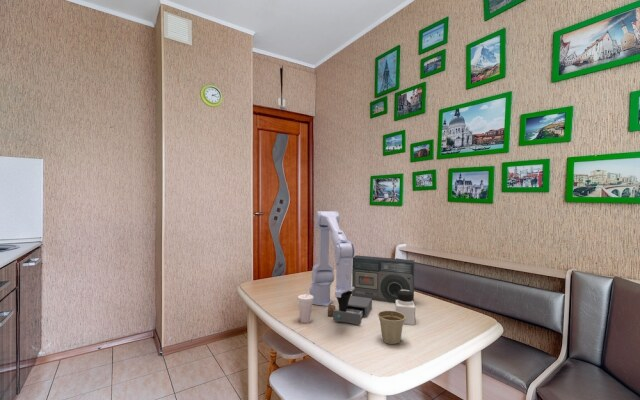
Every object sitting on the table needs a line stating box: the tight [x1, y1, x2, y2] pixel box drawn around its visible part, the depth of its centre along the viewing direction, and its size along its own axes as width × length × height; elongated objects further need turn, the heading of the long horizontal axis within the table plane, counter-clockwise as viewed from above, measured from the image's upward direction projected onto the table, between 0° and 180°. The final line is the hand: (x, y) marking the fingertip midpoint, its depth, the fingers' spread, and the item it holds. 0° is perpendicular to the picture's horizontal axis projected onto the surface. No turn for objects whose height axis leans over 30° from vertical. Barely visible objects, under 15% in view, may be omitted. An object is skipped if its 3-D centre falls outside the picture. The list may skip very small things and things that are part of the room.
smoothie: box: [297, 285, 314, 324], centre depth 116 cm, size 6×6×14 cm
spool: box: [327, 304, 337, 318], centre depth 122 cm, size 3×3×4 cm
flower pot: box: [377, 310, 405, 345], centre depth 101 cm, size 9×9×9 cm
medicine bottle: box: [394, 290, 416, 326], centre depth 118 cm, size 7×7×12 cm
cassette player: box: [351, 255, 415, 304], centre depth 143 cm, size 29×7×20 cm, turn 68°
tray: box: [332, 309, 364, 325], centre depth 119 cm, size 12×11×4 cm
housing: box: [338, 295, 373, 319], centre depth 127 cm, size 12×12×4 cm
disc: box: [346, 309, 357, 313], centre depth 118 cm, size 6×6×2 cm
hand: (343, 311), depth 109 cm, fingers closed
